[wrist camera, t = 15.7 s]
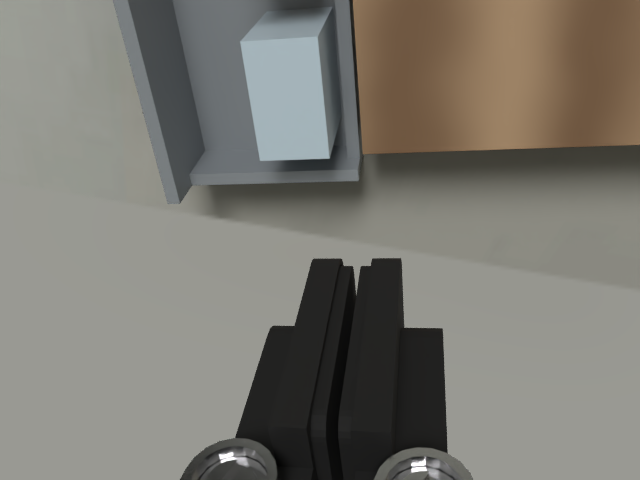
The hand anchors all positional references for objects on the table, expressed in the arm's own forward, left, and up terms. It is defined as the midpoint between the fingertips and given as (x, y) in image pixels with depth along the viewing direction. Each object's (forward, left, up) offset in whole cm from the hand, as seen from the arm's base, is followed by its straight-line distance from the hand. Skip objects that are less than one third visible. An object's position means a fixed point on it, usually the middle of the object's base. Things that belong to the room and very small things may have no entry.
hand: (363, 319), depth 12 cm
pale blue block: (+3, +1, -16) cm, 16 cm away
